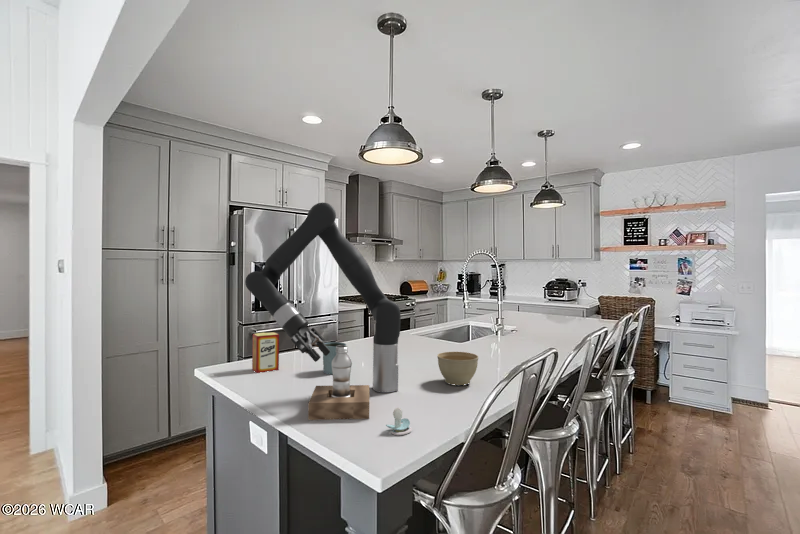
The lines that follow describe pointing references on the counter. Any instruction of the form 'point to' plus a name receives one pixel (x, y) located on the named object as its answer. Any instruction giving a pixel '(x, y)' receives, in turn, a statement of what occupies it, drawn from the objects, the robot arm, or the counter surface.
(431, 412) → the counter surface
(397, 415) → the pacifier
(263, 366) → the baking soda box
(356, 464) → the counter surface
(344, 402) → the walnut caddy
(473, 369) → the planter bowl
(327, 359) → the drinking glass
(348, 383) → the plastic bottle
